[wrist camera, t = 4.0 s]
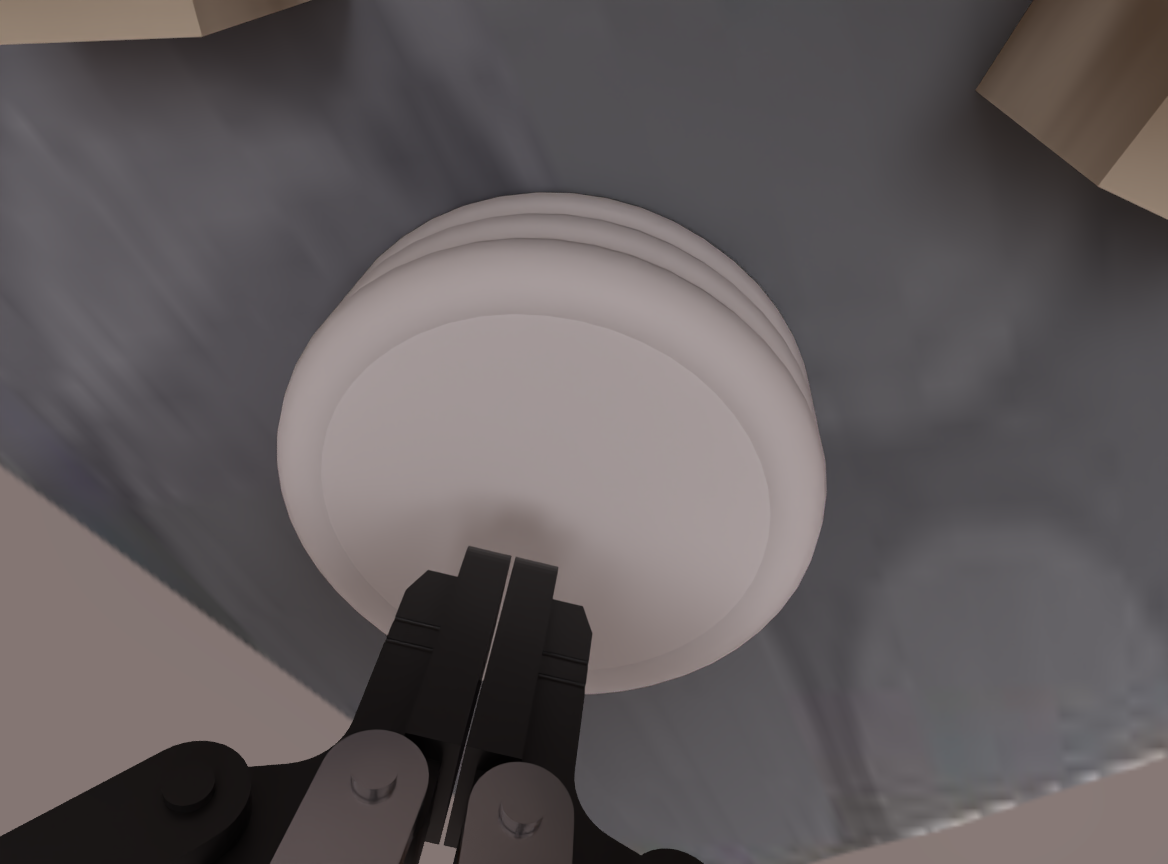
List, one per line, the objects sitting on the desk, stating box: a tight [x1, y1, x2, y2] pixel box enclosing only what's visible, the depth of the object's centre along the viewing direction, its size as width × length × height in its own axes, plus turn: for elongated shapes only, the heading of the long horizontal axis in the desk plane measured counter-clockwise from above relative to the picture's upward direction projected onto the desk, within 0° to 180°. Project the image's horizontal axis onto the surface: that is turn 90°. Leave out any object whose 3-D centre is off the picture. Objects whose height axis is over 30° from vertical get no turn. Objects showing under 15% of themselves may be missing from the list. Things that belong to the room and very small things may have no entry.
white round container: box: [277, 192, 827, 694], centre depth 16 cm, size 10×10×4 cm
